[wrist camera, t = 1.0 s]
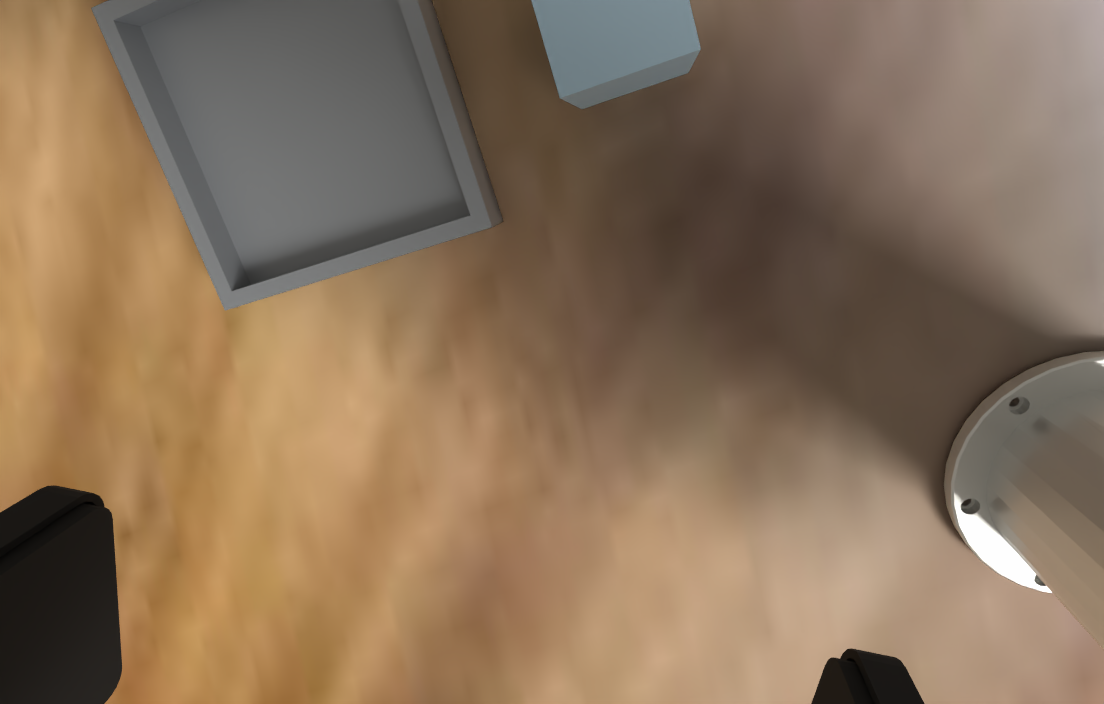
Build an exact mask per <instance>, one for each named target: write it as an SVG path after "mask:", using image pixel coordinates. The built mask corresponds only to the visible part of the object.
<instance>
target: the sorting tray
mask: <svg viewBox="0 0 1104 704" xmlns="http://www.w3.org/2000/svg"><path fill="white" fill-rule="evenodd" d="M91 9H92V11H93V14H94V16H95V18H96V20H97V23H98V25H99V27H100V29H101V32H102V34H103V36H104V38H105V41H106V43H107V45H108V48H109V50H110V52H111V54H112V57H113V59H114V61H115V63H116V66H117V68H118V70H119V72H120V75H121V77H122V79H123V81H124V84H125V86H126V88H127V90H128V93H129V95H130V97H131V99H132V102H133V104H134V106H135V108H136V111H137V113H138V115H139V117H140V120H141V122H142V124H143V127H144V129H145V131H146V133H147V136H148V138H149V140H150V142H151V145H152V147H153V149H154V151H155V154H156V156H157V158H158V160H159V163H160V165H161V167H162V169H163V172H164V174H165V176H166V178H167V181H168V183H169V185H170V187H171V190H172V192H173V194H174V197H175V199H176V201H177V203H178V206H179V208H180V210H181V212H182V215H183V217H184V219H185V221H186V224H187V226H188V228H189V230H190V233H191V235H192V237H193V239H194V242H195V244H196V246H197V248H198V251H199V253H200V255H201V257H202V260H203V262H204V264H205V267H206V269H207V271H208V273H209V276H210V278H211V280H212V282H213V285H214V287H215V289H216V291H217V294H218V296H219V298H220V300H221V303H222V305H223V307H224V309H225V310H228V309H231V308H235V307H238V306H241V305H244V304H248V303H251V302H254V301H257V300H260V299H264V298H267V297H270V296H273V295H276V294H280V293H283V292H286V291H289V290H292V289H296V288H299V287H302V286H305V285H309V284H312V283H315V282H318V281H321V280H325V279H328V278H331V277H334V276H337V275H341V274H344V273H347V272H350V271H353V270H357V269H360V268H363V267H366V266H370V265H373V264H376V263H379V262H382V261H386V260H389V259H392V258H395V257H398V256H402V255H405V254H408V253H411V252H414V251H418V250H421V249H424V248H427V247H430V246H434V245H437V244H440V243H443V242H447V241H450V240H453V239H456V238H459V237H463V236H466V235H469V234H472V233H475V232H479V231H482V230H485V229H488V228H491V227H494V226H496V225H498V224H499V223H501V222H503V218H502V215H501V212H500V209H499V206H498V203H497V200H496V197H495V194H494V191H493V188H492V185H491V182H490V178H489V175H488V172H487V169H486V166H485V163H484V160H483V157H482V154H481V151H480V148H479V145H478V142H477V138H476V135H475V132H474V129H473V126H472V123H471V120H470V117H469V114H468V111H467V108H466V105H465V102H464V98H463V95H462V92H461V89H460V86H459V83H458V80H457V77H456V74H455V71H454V68H453V65H452V61H451V58H450V55H449V52H448V49H447V46H446V43H445V40H444V37H443V34H442V31H441V28H440V25H439V21H438V18H437V15H436V12H435V9H434V6H433V3H432V0H108V1H106V2H103V3H101V4H99V5H97V6H95V7H92V8H91Z"/></svg>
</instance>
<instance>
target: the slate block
mask: <svg viewBox="0 0 1104 704" xmlns="http://www.w3.org/2000/svg"><path fill="white" fill-rule="evenodd" d="M531 1H532V4H533V8H534V11H535V15H536V18H537V22H538V25H539V28H540V32H541V35H542V39H543V42H544V46H545V49H546V52H547V56H548V59H549V63H550V66H551V70H552V73H553V77H554V80H555V83H556V87H557V90H558V94H559V97H560V99H562V100H564V101H566V102H568V103H570V104H572V105H574V106H576V107H578V108H580V109H584V108H587V107H590V106H593V105H596V104H599V103H602V102H605V101H608V100H611V99H614V98H617V97H620V96H622V95H625V94H628V93H631V92H634V91H637V90H640V89H643V88H646V87H649V86H652V85H655V84H658V83H661V82H663V81H666V80H669V79H672V78H675V77H678V76H681V75H684V74H687V73H689V71H690V69H691V67H692V65H693V63H694V61H695V59H696V57H697V56H698V54H699V52H700V50H701V48H700V44H699V39H698V35H697V31H696V27H695V22H694V18H693V14H692V10H691V5H690V1H689V0H531Z"/></svg>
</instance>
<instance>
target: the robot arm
mask: <svg viewBox="0 0 1104 704" xmlns="http://www.w3.org/2000/svg"><path fill="white" fill-rule="evenodd" d="M1013 399H1014V400H1013ZM1012 400H1013V401H1012ZM1011 401H1012V402H1011ZM1010 402H1011V403H1010ZM944 490H945V499H946V506H947V509H948V512H949V514H950V517H951V520H952V523H953V525H954V527H955V528H956V530H957V531H958V533H959V534H960V536H961V537H962V539H963V540H964V542H965V543H966V544H967V546H968V547H969V548H970V549H971V550H972V551H973V553H974V554H975V555H976V556H977V557H978V558H979V560H980V561H982V562H983V563H984V564H986V565H987V566H988V567H989V568H991V569H992V570H993V571H994V572H996V573H997V574H999V575H1001V576H1003V577H1005V578H1007V579H1008V580H1010V581H1012V582H1014V583H1016V584H1018V585H1021V586H1024V587H1027V588H1030V589H1033V590H1036V591H1040V592H1046V593H1053V594H1054V595H1055V596H1056V597H1057V598H1058V600H1059V601H1060V602H1061V603H1062V604H1063V605H1064V606H1065V607H1066V609H1067V610H1068V611H1069V612H1070V613H1071V614H1072V615H1073V616H1074V617H1075V619H1076V620H1077V621H1078V622H1079V623H1080V624H1081V625H1082V626H1083V627H1084V629H1085V630H1086V631H1087V632H1088V633H1089V634H1090V635H1091V636H1092V637H1093V639H1094V640H1095V641H1096V642H1097V643H1098V644H1099V645H1100V646H1101V648H1102V649H1103V650H1104V351H1094V352H1083V353H1078V354H1074V355H1069V356H1065V357H1060V358H1056V359H1053V360H1051V361H1048V362H1045V363H1043V364H1040V365H1038V366H1035V367H1033V368H1030V369H1028V370H1026V371H1024V372H1023V373H1021V374H1019V375H1018V376H1016V377H1014V378H1012V379H1011V380H1009V381H1007V382H1006V383H1004V384H1003V385H1001V386H1000V387H999V388H998V389H997V390H995V391H994V392H993V393H992V394H990V395H989V396H988V397H987V398H986V399H984V400H983V401H982V402H981V403H980V405H979V406H978V407H977V408H976V409H975V410H974V412H973V413H972V414H971V415H970V416H969V417H968V419H967V420H966V421H965V423H964V425H963V426H962V428H961V430H960V431H959V433H958V435H957V437H956V438H955V440H954V442H953V445H952V448H951V451H950V454H949V457H948V460H947V462H946V470H945V479H944ZM121 673H122V659H121V643H120V627H119V611H118V596H117V580H116V564H115V548H114V533H113V518H112V514H111V512H110V511H109V509H107V508H105V507H104V503H103V500H102V499H101V498H100V496H98V495H96V494H94V493H89V492H85V491H80V490H75V489H70V488H65V487H60V486H46V487H44V488H42V489H39V490H37V491H36V492H34V493H32V494H31V495H29V496H27V497H26V498H24V499H22V500H21V501H19V502H17V503H16V504H14V505H12V506H11V507H9V508H7V509H6V510H4V511H2V512H1V513H0V704H104V703H105V702H106V701H107V700H108V699H109V697H110V696H111V695H112V694H113V692H114V690H115V688H116V687H117V684H118V682H119V680H120V676H121ZM812 704H924V702H923V700H922V698H921V696H920V694H919V692H918V690H917V689H916V687H915V685H914V683H913V681H912V679H911V677H910V675H909V673H908V671H907V669H906V667H905V666H904V665H903V663H902V662H901V661H900V660H899V659H897V658H895V657H890V656H885V655H881V654H876V653H871V652H866V651H861V650H856V649H847V650H846V651H845V652H844V653H843V654H842V656H841V658H840V659H838V658H830V659H829V660H828V661H827V663H826V665H825V667H824V670H823V673H822V676H821V679H820V681H819V684H818V687H817V690H816V692H815V695H814V698H813V701H812Z"/></svg>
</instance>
